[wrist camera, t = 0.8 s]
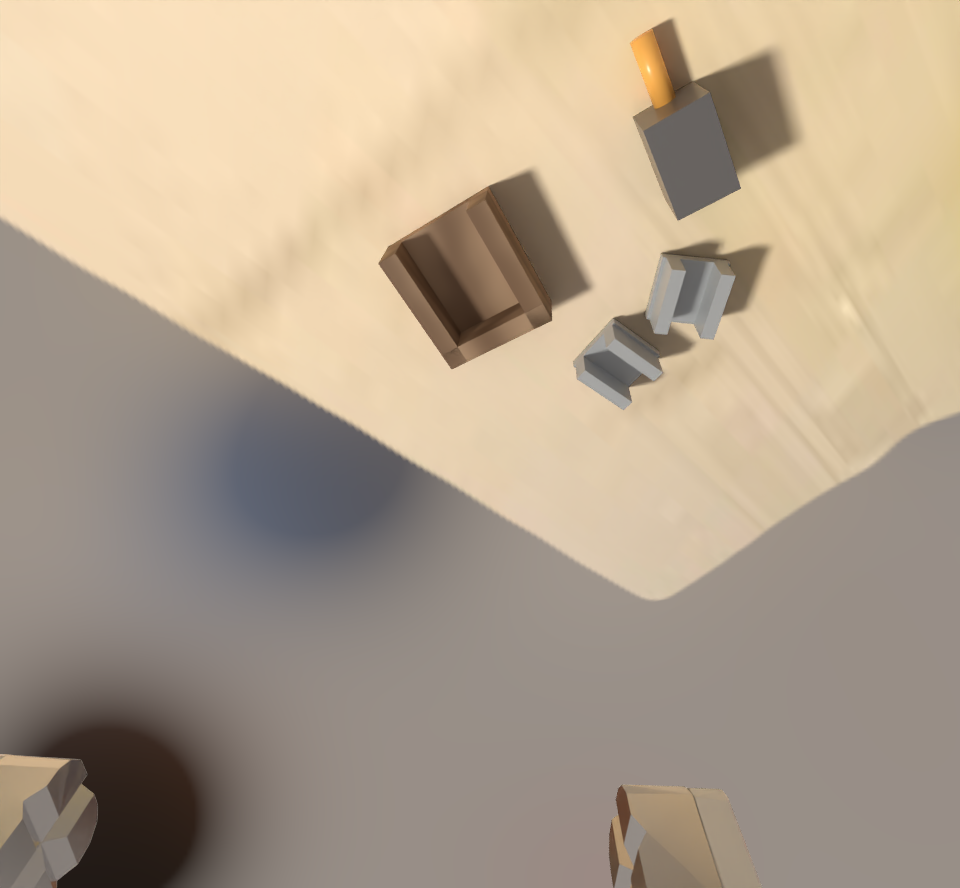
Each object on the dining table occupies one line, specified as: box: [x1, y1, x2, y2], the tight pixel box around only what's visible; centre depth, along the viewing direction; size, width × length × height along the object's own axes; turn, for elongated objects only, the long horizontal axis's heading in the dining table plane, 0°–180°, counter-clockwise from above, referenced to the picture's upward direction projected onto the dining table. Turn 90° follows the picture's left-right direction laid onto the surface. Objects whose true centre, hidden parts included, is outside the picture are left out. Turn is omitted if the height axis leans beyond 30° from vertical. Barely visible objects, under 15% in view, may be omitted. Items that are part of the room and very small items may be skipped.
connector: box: [630, 29, 741, 220], centre depth 37 cm, size 4×10×5 cm, turn 31°
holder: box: [378, 186, 552, 369], centre depth 45 cm, size 9×10×4 cm
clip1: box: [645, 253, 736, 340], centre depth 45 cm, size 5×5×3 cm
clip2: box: [573, 318, 663, 410], centre depth 49 cm, size 5×5×3 cm
